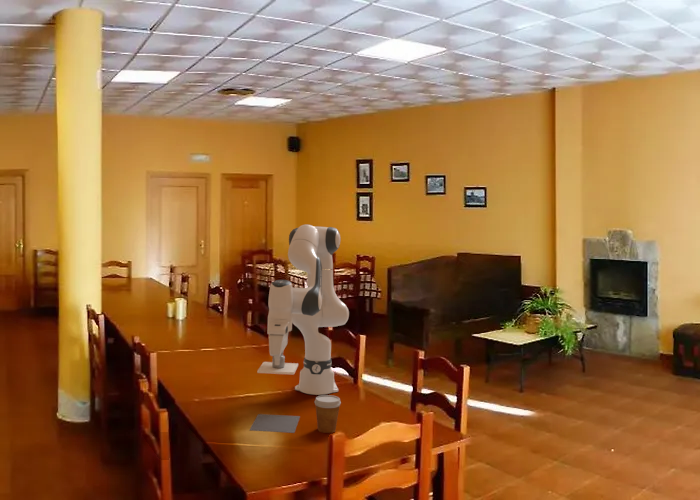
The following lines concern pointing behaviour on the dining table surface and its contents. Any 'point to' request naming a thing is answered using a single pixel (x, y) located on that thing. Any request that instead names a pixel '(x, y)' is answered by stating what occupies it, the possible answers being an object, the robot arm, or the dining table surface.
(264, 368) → the lid
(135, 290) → the dining table surface
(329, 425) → the disposable coffee cup
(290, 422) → the mat
